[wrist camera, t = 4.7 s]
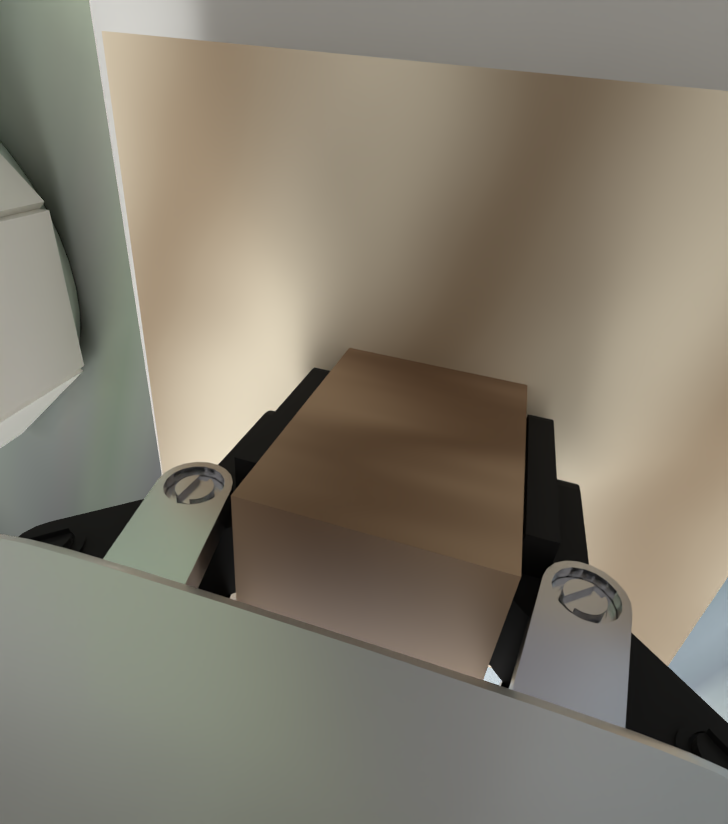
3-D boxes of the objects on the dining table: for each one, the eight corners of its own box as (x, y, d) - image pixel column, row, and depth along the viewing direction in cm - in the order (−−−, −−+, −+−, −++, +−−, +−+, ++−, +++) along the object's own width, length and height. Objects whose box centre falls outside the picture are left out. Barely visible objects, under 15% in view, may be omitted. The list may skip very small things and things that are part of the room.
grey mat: (995, -13, 9) (1018, -18, 9) (624, 624, 19) (627, 636, 18) (92, -69, 12) (77, -75, 12) (174, 506, 22) (168, 514, 21)
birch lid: (983, 119, 8) (1938, 131, 3) (630, 681, 16) (679, 978, 10) (135, 37, 11) (-268, -41, 5) (191, 547, 19) (50, 725, 13)
